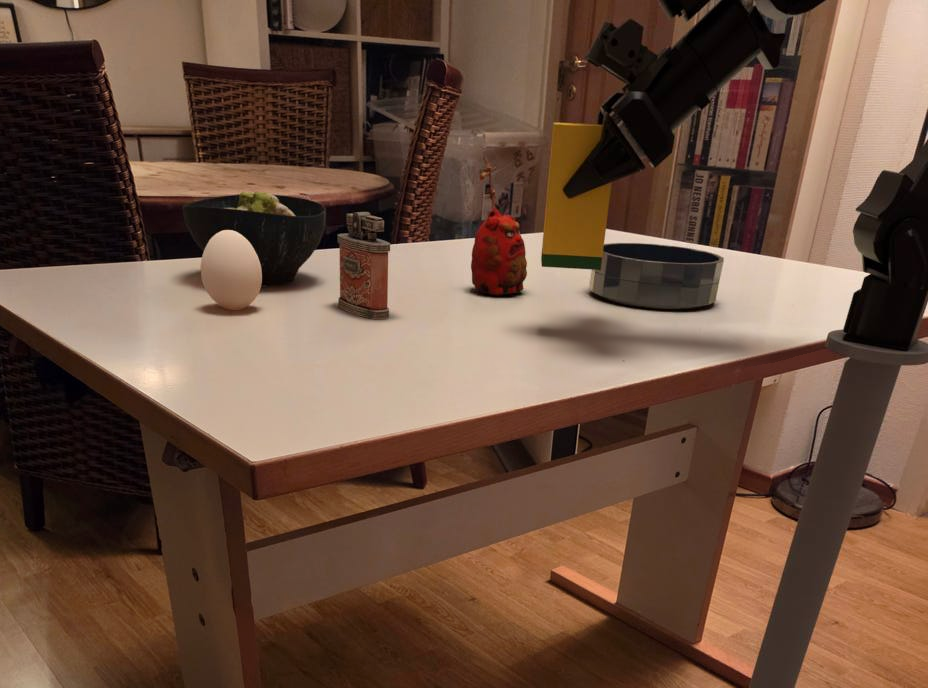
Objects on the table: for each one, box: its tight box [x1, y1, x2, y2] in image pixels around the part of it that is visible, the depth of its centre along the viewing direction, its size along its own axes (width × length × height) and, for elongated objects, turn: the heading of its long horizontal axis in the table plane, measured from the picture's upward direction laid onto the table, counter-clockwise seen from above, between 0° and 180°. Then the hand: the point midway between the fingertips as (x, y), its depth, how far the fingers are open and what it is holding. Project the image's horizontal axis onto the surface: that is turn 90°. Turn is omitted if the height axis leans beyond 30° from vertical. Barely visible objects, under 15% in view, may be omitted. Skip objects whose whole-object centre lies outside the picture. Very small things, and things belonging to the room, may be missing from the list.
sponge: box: [540, 122, 613, 270], centre depth 86 cm, size 6×5×12 cm
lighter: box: [337, 211, 391, 320], centre depth 94 cm, size 8×3×10 cm, turn 37°
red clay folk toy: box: [470, 156, 528, 297], centre depth 107 cm, size 8×7×15 cm
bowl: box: [181, 191, 327, 287], centre depth 106 cm, size 17×17×10 cm
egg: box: [200, 230, 262, 311], centre depth 92 cm, size 6×6×8 cm
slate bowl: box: [588, 242, 725, 311], centre depth 111 cm, size 16×16×6 cm
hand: (564, 191), depth 86 cm, fingers closed on sponge, 5 cm apart
